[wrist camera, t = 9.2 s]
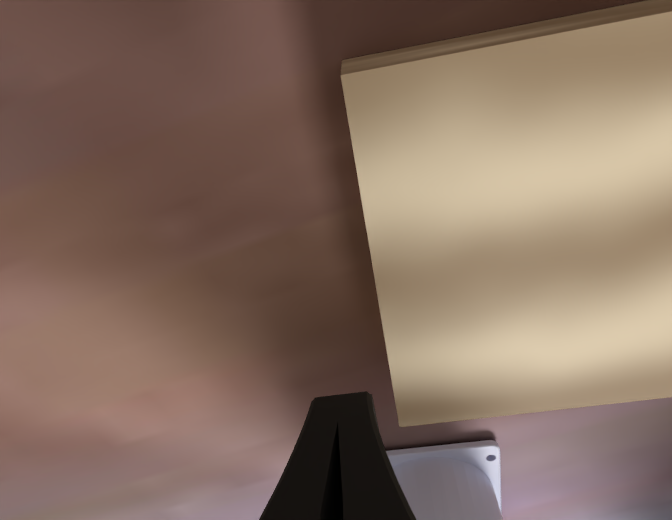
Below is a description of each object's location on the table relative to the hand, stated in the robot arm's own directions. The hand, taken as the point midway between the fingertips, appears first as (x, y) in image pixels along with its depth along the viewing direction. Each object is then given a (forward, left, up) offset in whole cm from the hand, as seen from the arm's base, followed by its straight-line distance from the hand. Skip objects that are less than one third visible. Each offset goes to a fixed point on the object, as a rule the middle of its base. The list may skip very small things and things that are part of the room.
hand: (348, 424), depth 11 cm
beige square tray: (0, -8, -10) cm, 13 cm away
